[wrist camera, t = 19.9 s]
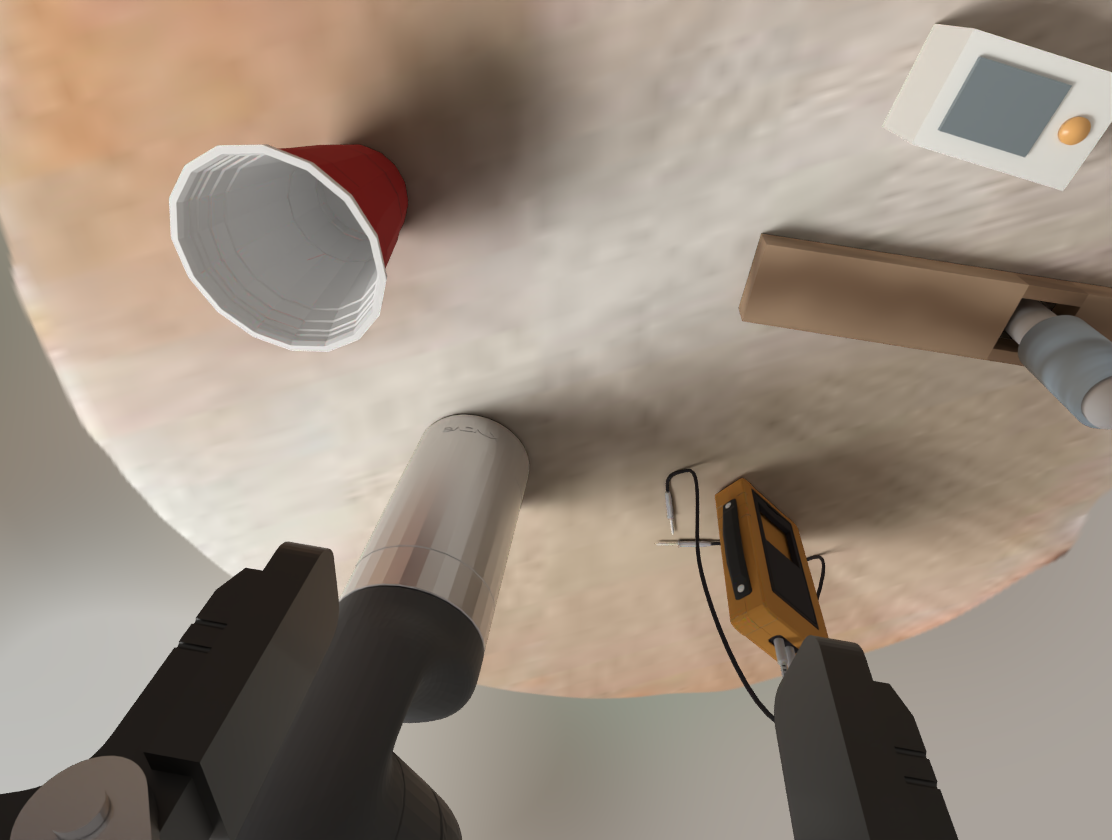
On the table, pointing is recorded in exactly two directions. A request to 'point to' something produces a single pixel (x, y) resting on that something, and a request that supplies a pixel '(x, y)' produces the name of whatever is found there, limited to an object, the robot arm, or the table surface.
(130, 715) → the robot arm
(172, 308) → the table surface
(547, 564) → the table surface
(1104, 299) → the bar
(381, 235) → the plastic cup
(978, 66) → the block
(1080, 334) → the grey stepped cylinder
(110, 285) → the table surface
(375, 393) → the table surface
